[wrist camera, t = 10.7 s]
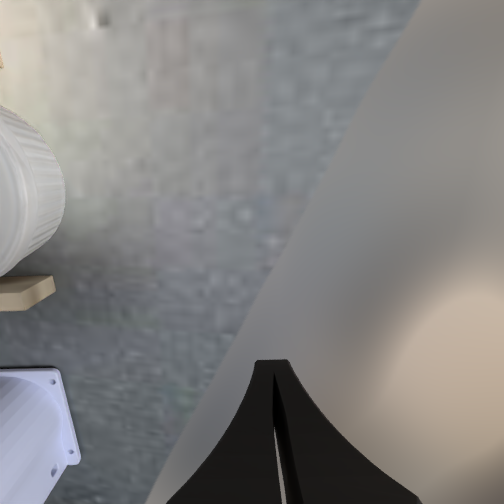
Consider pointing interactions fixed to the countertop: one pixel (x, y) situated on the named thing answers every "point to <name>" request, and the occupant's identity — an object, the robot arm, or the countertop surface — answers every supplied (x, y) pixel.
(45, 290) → the birch dock
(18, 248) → the ramekin
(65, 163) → the countertop surface
